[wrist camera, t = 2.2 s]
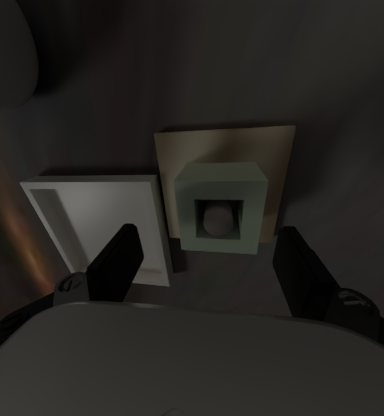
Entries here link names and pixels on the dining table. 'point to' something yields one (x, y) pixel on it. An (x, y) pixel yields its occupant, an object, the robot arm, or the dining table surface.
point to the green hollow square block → (221, 190)
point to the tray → (103, 218)
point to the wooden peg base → (226, 153)
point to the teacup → (16, 57)
